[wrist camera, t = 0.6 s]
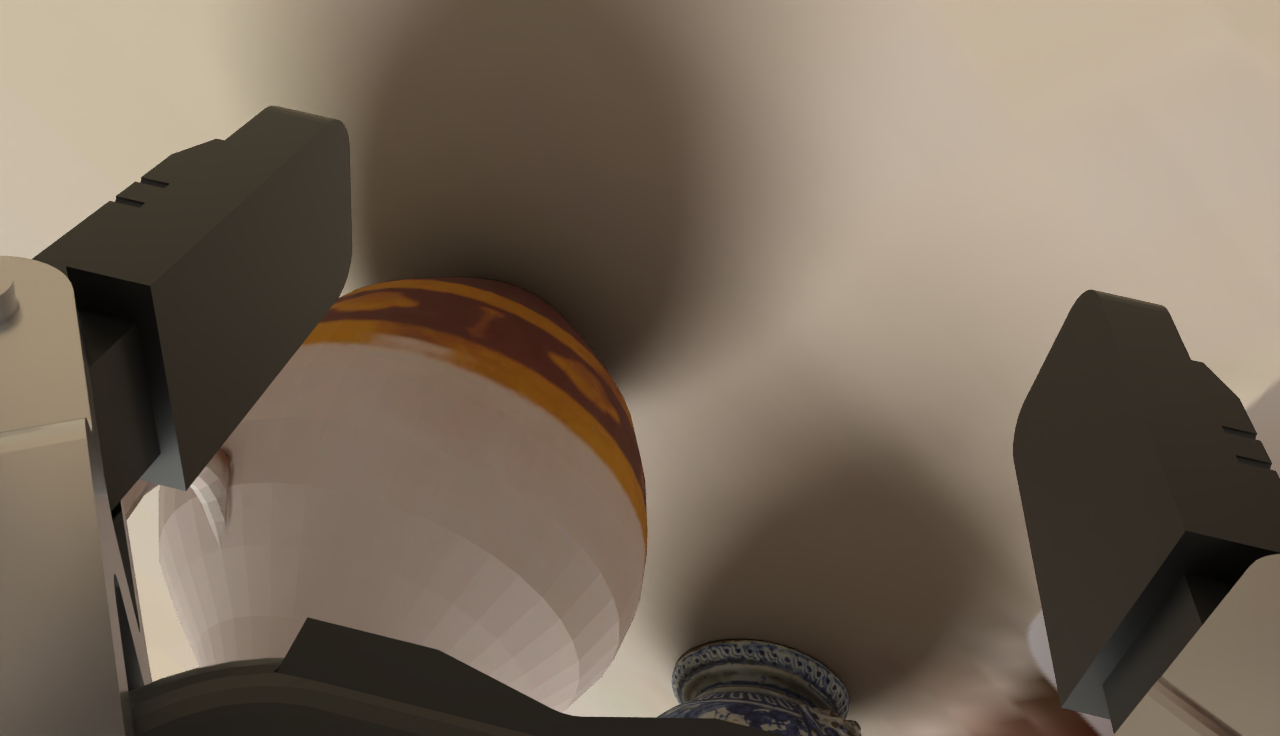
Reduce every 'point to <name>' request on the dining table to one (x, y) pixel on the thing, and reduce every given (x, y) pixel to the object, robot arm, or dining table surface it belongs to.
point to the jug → (422, 493)
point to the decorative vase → (761, 689)
